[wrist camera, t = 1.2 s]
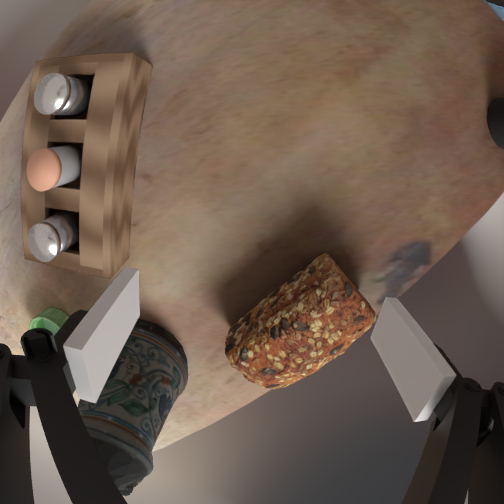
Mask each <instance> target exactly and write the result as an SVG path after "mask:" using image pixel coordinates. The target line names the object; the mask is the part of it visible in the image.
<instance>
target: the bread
mask: <svg viewBox="0 0 504 504" xmlns="http://www.w3.org/2000/svg"><path fill="white" fill-rule="evenodd" d="M376 317H377V316H376V314H375V311H374V310H373V309H372V307H371V306H370V304H369V303H368V302H367V300H366V299H365V298H364V297H363V295H362V294H361V293H360V292H359V290H358V289H357V288H356V287H355V286H354V285H353V283H352V282H351V281H350V280H349V279H348V278H347V276H346V275H345V274H344V273H343V271H342V270H341V268H340V267H339V266H338V265H337V264H336V263H335V262H334V261H333V259H332V258H331V257H330V256H329V255H328V254H327V253H324V254H322V255H320V256H317V257H316V258H315V260H314V261H313V262H312V263H311V264H309V265H308V266H307V267H306V268H304V269H303V270H302V271H300V272H298V273H297V274H295V275H294V276H293V277H292V278H290V279H289V280H288V281H287V282H285V283H284V284H283V285H281V286H279V288H278V289H276V290H275V291H273V292H272V293H271V294H269V295H268V296H267V297H265V298H264V299H263V300H262V301H260V302H259V303H258V305H257V306H256V307H254V308H252V309H251V310H250V311H249V312H248V313H246V314H245V315H244V317H242V318H240V319H239V320H238V321H237V322H236V323H234V324H233V325H232V326H231V327H230V328H229V332H228V335H227V336H226V342H225V344H226V348H225V354H226V356H227V358H228V360H229V362H230V364H231V366H232V367H233V368H236V369H237V370H238V371H240V372H242V373H243V375H244V377H245V378H246V379H247V380H248V381H251V382H253V383H257V384H258V385H261V386H262V387H263V388H270V389H277V388H281V387H286V386H288V385H290V384H292V383H296V382H297V381H298V380H300V379H302V378H305V377H308V376H309V375H310V374H312V373H314V372H316V371H317V370H319V369H320V368H321V367H322V366H323V365H325V364H326V363H328V362H329V361H331V360H332V359H334V358H336V356H337V355H340V354H342V353H345V351H346V349H347V348H348V347H349V346H350V345H351V344H352V343H353V342H354V341H355V340H356V339H357V338H360V337H361V335H362V334H363V333H365V331H367V330H368V329H369V328H370V327H371V326H372V324H373V323H374V322H375V321H376Z"/></svg>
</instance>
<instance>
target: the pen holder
mask: <svg viewBox="0 0 504 504" xmlns="http://www.w3.org/2000/svg"><path fill="white" fill-rule="evenodd" d="M488 126H489V131H490V134H491V136H492V138H493V140H494V141H495V143H496V144H497V145H498V146H499V147H501V148H502V149H504V98H500V99H496V100H494V101H493V102H492V104H491V106H490V108H489V111H488Z"/></svg>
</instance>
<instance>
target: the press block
mask: <svg viewBox="0 0 504 504" xmlns="http://www.w3.org/2000/svg"><path fill="white" fill-rule="evenodd" d="M152 67H153V66H152V65H150V64H149V63H148V62H146V61H145V60H143V59H142V58H141V57H139V56H138V55H136V54H135V53H110V54H92V55H80V56H70V57H61V58H53V59H46V60H40V61H36V63H35V67H34V72H33V77H32V82H31V87H30V93H29V98H28V105H27V112H26V119H25V128H24V138H23V150H22V169H21V214H22V233H23V246H24V256H25V259H27V260H31V261H35V262H39V263H43V264H47V265H52V266H56V267H60V268H64V269H68V270H73V271H77V272H81V273H86V274H90V275H95V276H100V277H104V278H109V279H111V277H112V276H113V275H114V274H115V273H116V272H117V270H118V269H119V268H120V267H121V266H122V265H123V264H124V263H125V261H126V260H127V259H128V258H129V250H130V228H131V212H132V199H133V188H134V178H135V169H136V160H137V152H138V145H139V138H140V131H141V125H142V118H143V112H144V107H145V101H146V96H147V91H148V86H149V81H150V76H151V71H152ZM50 73H59V74H63V75H67V76H71V77H75V78H78V79H82V80H85V81H88V82H90V83H91V84H92V91H91V96H90V102H89V108H88V111H87V112H86V113H84V114H82V115H79V116H73V115H49V114H41V113H40V112H38V111H37V109H36V107H35V104H34V94H35V90H36V87H37V85H38V84H39V82H40V81H41V80H42V79H43V78H44V77H45V76H46V75H48V74H50ZM69 145H75V146H78V147H79V148H81V149H82V151H83V155H82V167H81V177H80V178H79V179H77V180H75V181H72V182H69V183H66V184H63V185H60V186H57V187H54V188H51V189H49V190H46V191H37V190H35V189H34V188H33V187H32V186H31V185H30V183H29V181H28V178H27V163H28V160H29V158H30V156H31V155H32V154H33V153H34V152H35V151H37V150H40V149H46V148H53V147H61V146H69ZM63 210H68V211H75V212H76V213H77V214H78V215H79V240H78V241H77V242H76V243H74V244H73V245H71V246H70V247H69V248H67V249H66V250H65V251H63V252H62V253H61V254H59V255H58V256H57V257H55V258H54V259H53V260H51V261H49V262H42V261H40V260H38V259H37V258H36V257H35V256H34V255H33V254H32V252H31V250H30V248H29V245H28V233H29V230H30V229H31V227H32V226H34V225H36V224H38V223H39V222H41V221H43V220H45V219H47V218H49V217H51V216H53V215H55V214H57V213H59V212H61V211H63Z"/></svg>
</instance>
